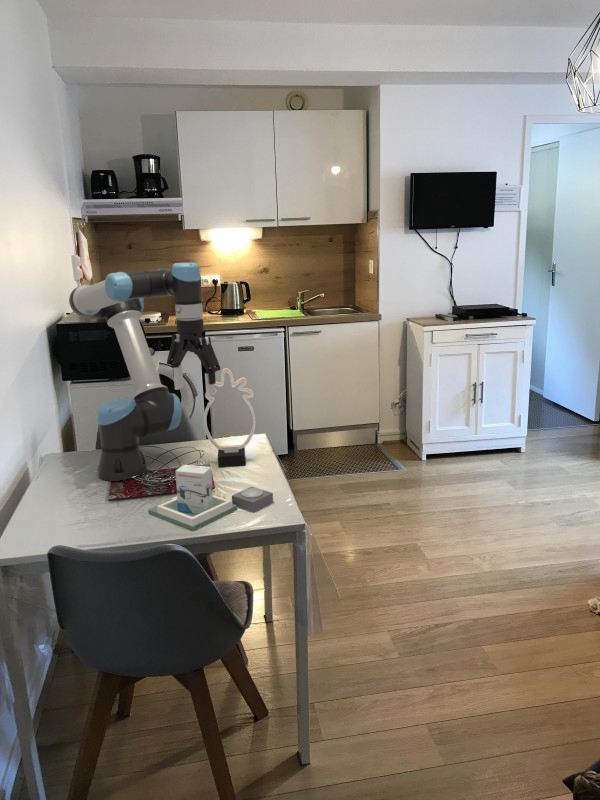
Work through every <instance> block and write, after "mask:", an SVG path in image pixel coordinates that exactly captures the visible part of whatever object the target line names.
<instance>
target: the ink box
mask: <svg viewBox="0 0 600 800" xmlns="http://www.w3.org/2000/svg"><path fill="white" fill-rule="evenodd" d="M212 474H213V473H212V468H211V467H210V466H205V465H204V466H203V465H202V466H201V465H192V464H183V465H181V466H179V468H177V469H175V482H176V483H175V484H176V496H177V503H178V511H179V512H186V513H195V514H200V513H202V512H205V511H207V510H209V509H211V508H213V493H214V491H213V477H212V476H213V475H212Z"/></svg>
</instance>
